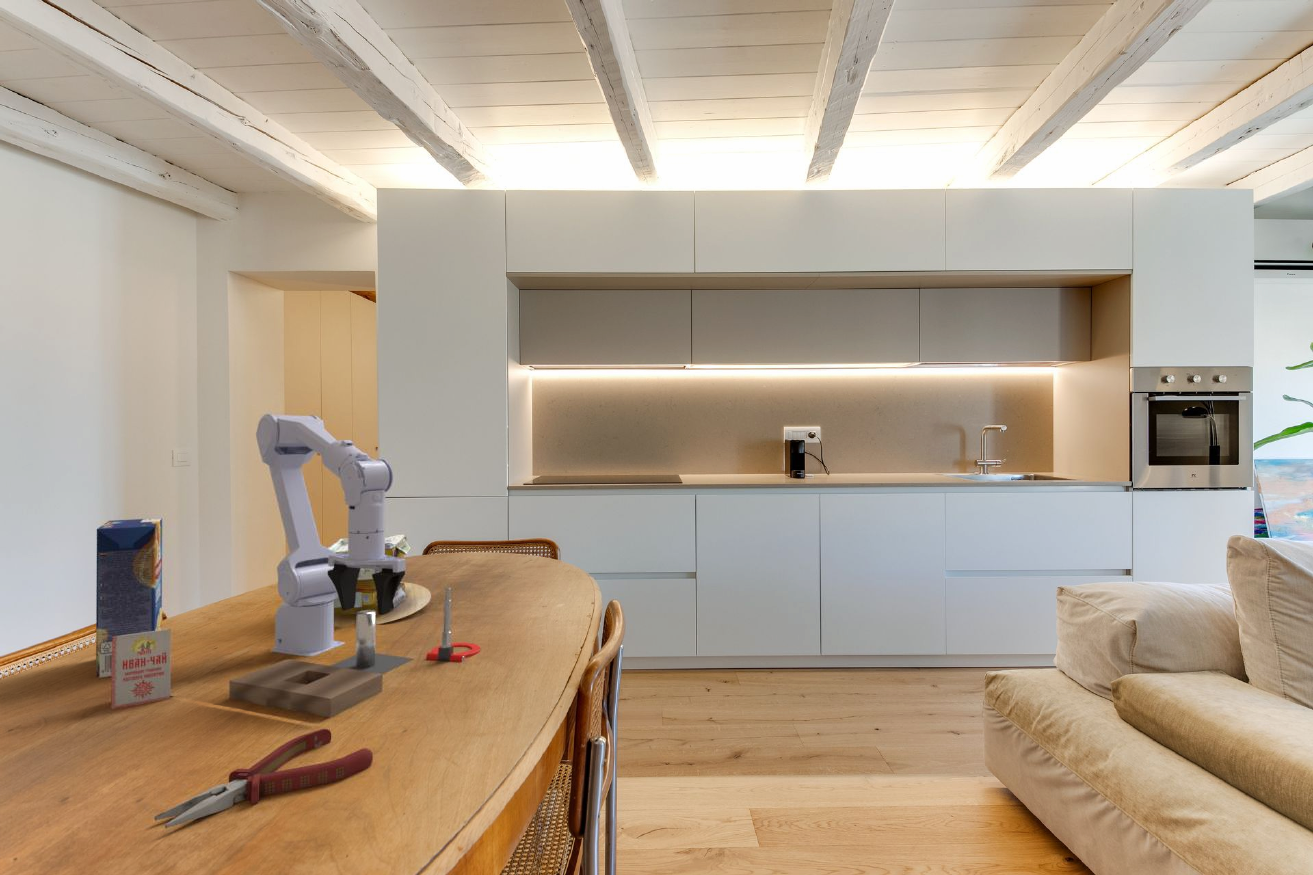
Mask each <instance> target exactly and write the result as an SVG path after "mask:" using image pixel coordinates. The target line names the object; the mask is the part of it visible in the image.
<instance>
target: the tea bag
mask: <svg viewBox="0 0 1313 875" xmlns="http://www.w3.org/2000/svg"><path fill="white" fill-rule="evenodd" d="M171 630H172V629H171V628H167V629H162V630H158V631H150V632H143V633H135V634H128V635H121V636H113V637H112V667H111V676H110V678H111V679H110V680H111V681H110V682H111V683H110V687H111V689H110V690H111V694H110V695H111V696H110V697H111V698H110V701H111V702H110V707H111V709H110V710H116V709H117V710H118V709H122V708H123V709H124V708H129V707H132V706H133V707H134V706H139V705H145V704H151V703H154V702H155V703H156V702H161V701H166V700H170V699H171V641H172V640H171V637H172V636H171Z"/></svg>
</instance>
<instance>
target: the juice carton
mask: <svg viewBox="0 0 1313 875" xmlns="http://www.w3.org/2000/svg"><path fill="white" fill-rule="evenodd" d="M95 587H96V594H95V595H96V601H95V602H96V604H95V606H96V607H95V608H96V614H95V616H96V617H95V618H96V619H95V620H96V621H95V622H96V623H95V628H96V630H95V631H96V632H95V633H96V634H95V655H96V656H95V679H100V678H106V677H111V667H112V637H113V636H121V635H128V634H135V633H143V632H150V631H158V630H163V629H162V626H163V625H162V620H163V617H162V616H163V612H162V611H163V604H162V603H163V600H162V598H163V593H162V592H163V517H159V518H157V517H156V518H140V519H139V518H137V519H136V518H134V519H117V520H116V519H115V520H108V521H107V522H105V523H104V524H102V525H101V526H99V527H98V528H97V529H96V586H95Z"/></svg>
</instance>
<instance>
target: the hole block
mask: <svg viewBox="0 0 1313 875" xmlns="http://www.w3.org/2000/svg"><path fill="white" fill-rule="evenodd" d="M228 688H229V696H228V697H229V700H233V701H240V702H245V703H250V704H255V705H260V706H265V707H272V708H277V709H282V710H288V711H293V712H298V713H303V714H309V715H313V716H319V717H323V718H325V717H326V718H329V719H331V718H332V717H335V716H337V715H338V714H341V713H343V712H345V711H347V710H348V709H351V708H352V707H354V706H357V705H358V704H361V703H362V702H364V701H366V700H368V699H370V698H372V697H374V696H376V695H378V694H380V693H382V692H383V674H379V673H373V672H366V671H360V670H353V669H347V668H341V667H334V666H330V665H327V664H319V663H314V662H308V661H302V660H301V661H300V660H295V659H284V660H281V661H279V662H277V663H273V664H270V665H269V666H265V667H263V668H260V669H257V670H255V671H253V672H252V671H251V672H249V673H247V674H245V675H242V676H239V677H236V678H234V679H231V680H229V686H228Z"/></svg>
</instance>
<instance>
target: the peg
mask: <svg viewBox="0 0 1313 875" xmlns="http://www.w3.org/2000/svg"><path fill="white" fill-rule="evenodd" d="M355 625H356V626H355V627H356V628H355V629H356V633H355V636H356V637H355V655H356V667H357V668H370V667H373V666H374V665H375V653H376V639H377V638H376V637H377V636H376V630H377V629H376V625H377V624H376V611H374V610H364V611H359V612H357V613H356V624H355Z"/></svg>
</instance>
